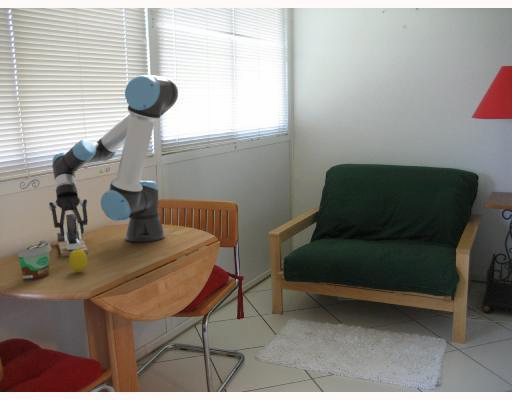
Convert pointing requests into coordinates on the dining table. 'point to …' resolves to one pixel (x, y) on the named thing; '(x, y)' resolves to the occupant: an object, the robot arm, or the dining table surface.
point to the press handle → (72, 233)
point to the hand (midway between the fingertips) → (73, 241)
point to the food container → (35, 261)
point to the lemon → (78, 260)
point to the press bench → (62, 245)
